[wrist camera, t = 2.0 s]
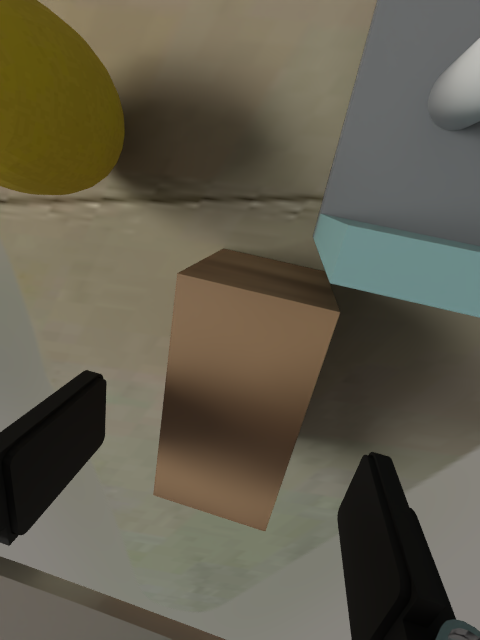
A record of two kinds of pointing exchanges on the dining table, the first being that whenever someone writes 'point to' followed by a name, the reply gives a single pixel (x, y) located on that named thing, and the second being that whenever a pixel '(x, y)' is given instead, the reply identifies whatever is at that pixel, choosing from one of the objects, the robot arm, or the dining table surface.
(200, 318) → the brown wooden block
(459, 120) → the peg frame
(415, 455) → the dining table surface
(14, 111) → the lemon
